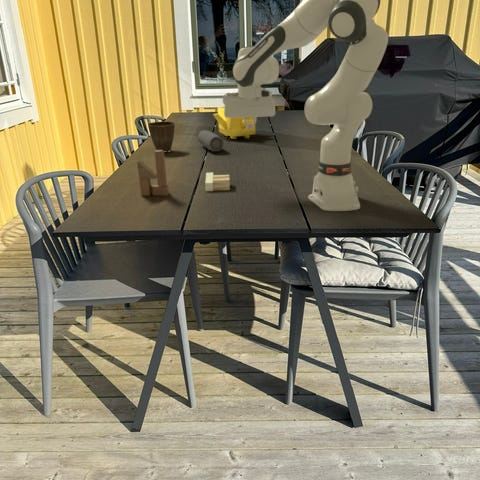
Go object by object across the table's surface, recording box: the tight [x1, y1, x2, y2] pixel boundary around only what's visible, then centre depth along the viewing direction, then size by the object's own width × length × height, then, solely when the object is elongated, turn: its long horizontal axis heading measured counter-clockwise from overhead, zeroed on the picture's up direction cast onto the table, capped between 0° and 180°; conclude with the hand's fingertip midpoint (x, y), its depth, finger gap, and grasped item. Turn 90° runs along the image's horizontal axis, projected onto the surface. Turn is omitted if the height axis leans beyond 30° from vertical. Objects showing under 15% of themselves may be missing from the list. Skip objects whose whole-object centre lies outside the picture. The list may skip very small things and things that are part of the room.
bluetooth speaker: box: [197, 129, 224, 152], centre depth 248 cm, size 23×9×10 cm, turn 22°
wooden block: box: [137, 149, 170, 197], centre depth 171 cm, size 4×11×18 cm, turn 87°
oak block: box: [213, 174, 231, 191], centre depth 181 cm, size 8×7×4 cm
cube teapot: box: [212, 107, 258, 140], centre depth 278 cm, size 35×30×21 cm
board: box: [204, 172, 214, 192], centre depth 184 cm, size 16×3×4 cm, turn 2°
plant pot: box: [147, 121, 176, 151], centre depth 245 cm, size 15×15×16 cm
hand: (249, 128), depth 172 cm, fingers closed
